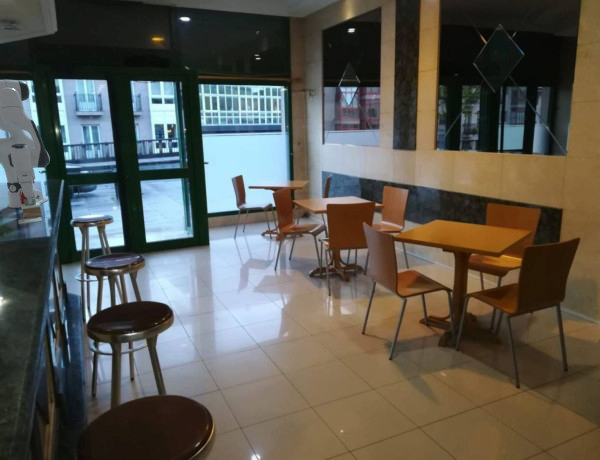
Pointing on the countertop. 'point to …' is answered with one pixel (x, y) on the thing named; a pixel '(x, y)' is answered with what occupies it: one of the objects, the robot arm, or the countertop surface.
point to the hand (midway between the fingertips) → (30, 203)
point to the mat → (30, 220)
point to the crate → (32, 212)
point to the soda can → (23, 197)
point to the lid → (33, 205)
